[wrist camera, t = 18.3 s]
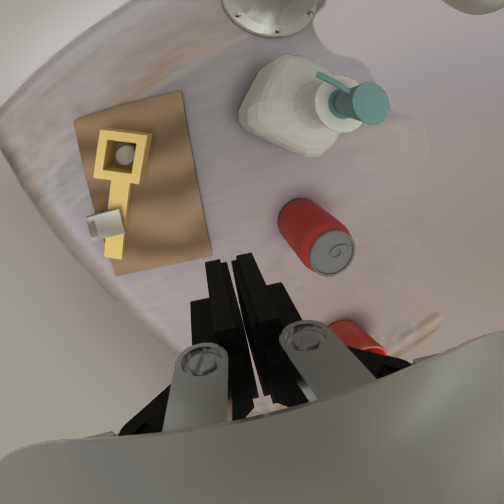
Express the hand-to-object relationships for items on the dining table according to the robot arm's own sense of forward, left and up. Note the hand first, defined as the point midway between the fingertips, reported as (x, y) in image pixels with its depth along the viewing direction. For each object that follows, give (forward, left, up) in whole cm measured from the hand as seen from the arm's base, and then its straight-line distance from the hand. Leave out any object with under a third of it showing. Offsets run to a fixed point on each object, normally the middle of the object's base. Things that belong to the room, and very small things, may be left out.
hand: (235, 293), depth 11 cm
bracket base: (+1, -8, -31) cm, 32 cm away
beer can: (+10, +12, -31) cm, 35 cm away
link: (+1, -11, -30) cm, 32 cm away
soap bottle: (-6, +11, -31) cm, 34 cm away
